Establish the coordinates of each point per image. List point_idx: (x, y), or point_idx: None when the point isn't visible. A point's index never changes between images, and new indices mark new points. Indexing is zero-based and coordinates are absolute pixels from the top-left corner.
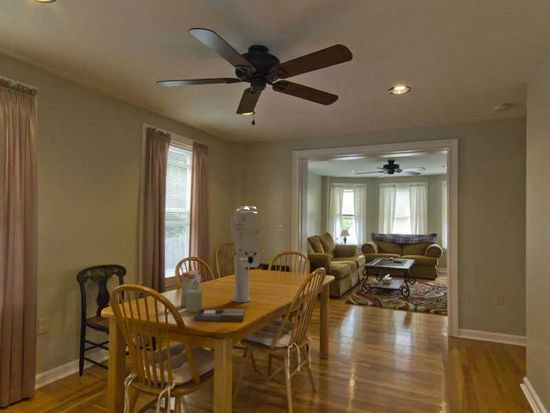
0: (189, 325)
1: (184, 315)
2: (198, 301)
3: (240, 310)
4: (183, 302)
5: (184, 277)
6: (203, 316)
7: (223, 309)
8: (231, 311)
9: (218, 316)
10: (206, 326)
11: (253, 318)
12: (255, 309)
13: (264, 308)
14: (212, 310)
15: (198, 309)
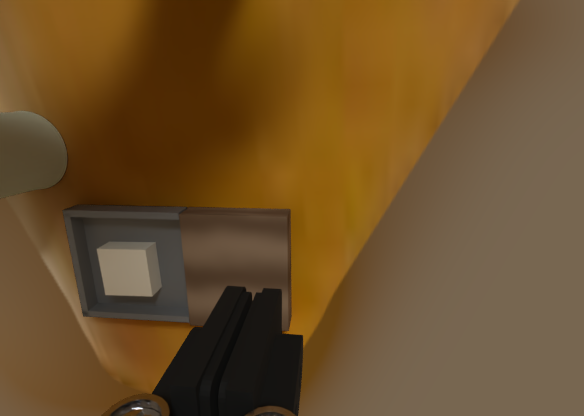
0: (102, 357)
1: (30, 238)
2: (17, 187)
3: (265, 250)
4: None
5: None
6: (120, 317)
7: (176, 216)
8: (224, 268)
9: (181, 321)
10: (163, 369)
11: (334, 277)
12: (340, 115)
13: (395, 88)
14: (131, 252)
15: (53, 178)
